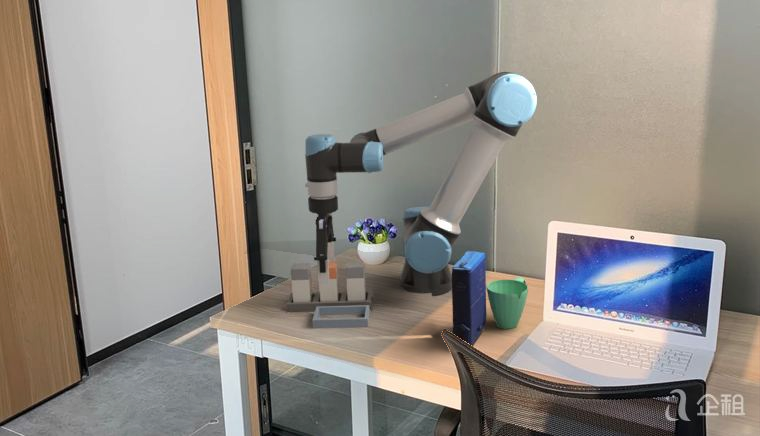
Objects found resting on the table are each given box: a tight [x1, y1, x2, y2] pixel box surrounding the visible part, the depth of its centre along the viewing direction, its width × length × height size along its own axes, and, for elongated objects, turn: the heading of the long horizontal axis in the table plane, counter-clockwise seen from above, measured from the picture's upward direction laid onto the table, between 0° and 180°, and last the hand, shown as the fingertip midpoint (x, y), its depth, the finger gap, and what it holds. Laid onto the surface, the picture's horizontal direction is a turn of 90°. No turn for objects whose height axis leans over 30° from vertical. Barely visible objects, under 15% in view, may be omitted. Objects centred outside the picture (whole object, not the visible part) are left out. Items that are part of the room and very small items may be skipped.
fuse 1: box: [290, 262, 313, 303], centre depth 181 cm, size 4×4×11 cm
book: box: [451, 251, 487, 347], centre depth 158 cm, size 14×5×20 cm, turn 157°
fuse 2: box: [345, 261, 367, 301], centre depth 180 cm, size 4×4×11 cm
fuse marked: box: [318, 261, 340, 302], centre depth 181 cm, size 4×4×11 cm
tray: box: [311, 305, 371, 329], centre depth 172 cm, size 14×9×3 cm, turn 88°
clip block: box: [285, 290, 374, 313], centre depth 182 cm, size 23×9×3 cm, turn 88°
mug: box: [486, 276, 529, 330], centre depth 168 cm, size 15×10×10 cm
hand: (326, 274), depth 180 cm, fingers open, 13 cm apart
